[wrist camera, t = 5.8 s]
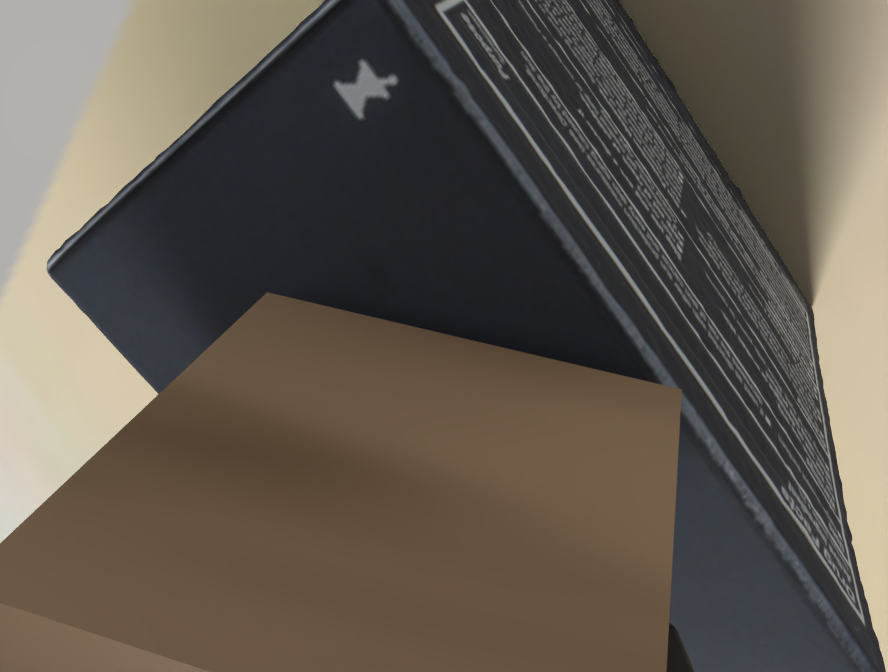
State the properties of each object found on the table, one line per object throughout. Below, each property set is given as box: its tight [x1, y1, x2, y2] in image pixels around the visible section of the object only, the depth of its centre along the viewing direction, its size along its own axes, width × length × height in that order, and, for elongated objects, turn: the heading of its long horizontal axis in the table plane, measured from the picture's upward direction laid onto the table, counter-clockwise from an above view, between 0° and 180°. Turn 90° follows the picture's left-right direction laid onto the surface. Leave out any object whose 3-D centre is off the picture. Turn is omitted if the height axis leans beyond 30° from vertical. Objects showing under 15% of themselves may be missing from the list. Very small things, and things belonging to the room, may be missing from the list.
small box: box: [47, 0, 886, 672], centre depth 15 cm, size 11×6×10 cm, turn 38°
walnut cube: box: [0, 292, 682, 672], centre depth 8 cm, size 4×4×4 cm
